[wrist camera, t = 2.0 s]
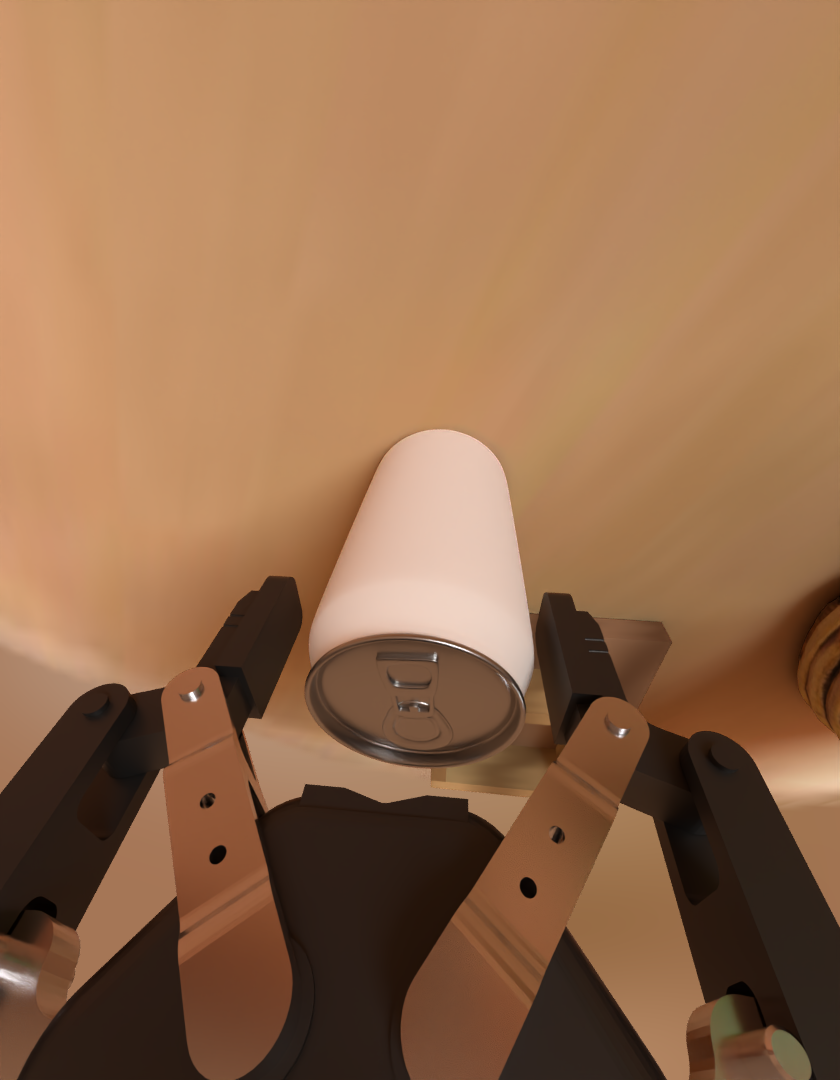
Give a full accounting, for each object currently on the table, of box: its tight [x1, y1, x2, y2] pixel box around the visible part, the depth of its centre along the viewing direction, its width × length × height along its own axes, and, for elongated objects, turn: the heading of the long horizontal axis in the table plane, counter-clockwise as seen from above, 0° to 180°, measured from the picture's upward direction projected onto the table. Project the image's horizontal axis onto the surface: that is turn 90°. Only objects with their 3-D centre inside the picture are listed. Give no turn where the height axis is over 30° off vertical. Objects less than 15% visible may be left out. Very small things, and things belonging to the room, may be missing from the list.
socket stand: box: [431, 614, 672, 797], centre depth 27 cm, size 16×16×4 cm
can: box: [305, 429, 534, 768], centre depth 15 cm, size 6×6×12 cm
